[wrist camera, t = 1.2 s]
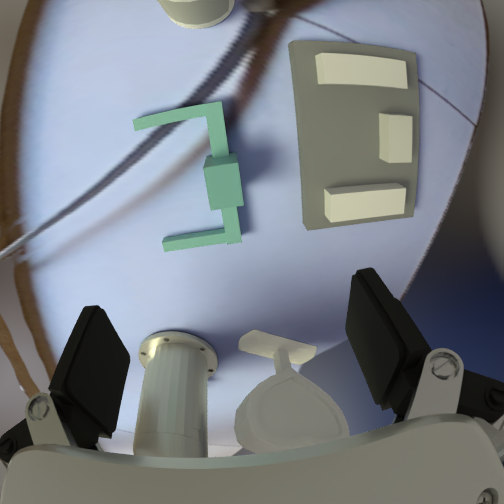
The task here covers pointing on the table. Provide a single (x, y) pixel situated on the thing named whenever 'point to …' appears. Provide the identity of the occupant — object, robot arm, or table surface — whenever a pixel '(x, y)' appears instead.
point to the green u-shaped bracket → (208, 176)
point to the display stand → (355, 131)
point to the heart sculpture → (285, 401)
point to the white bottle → (197, 12)
